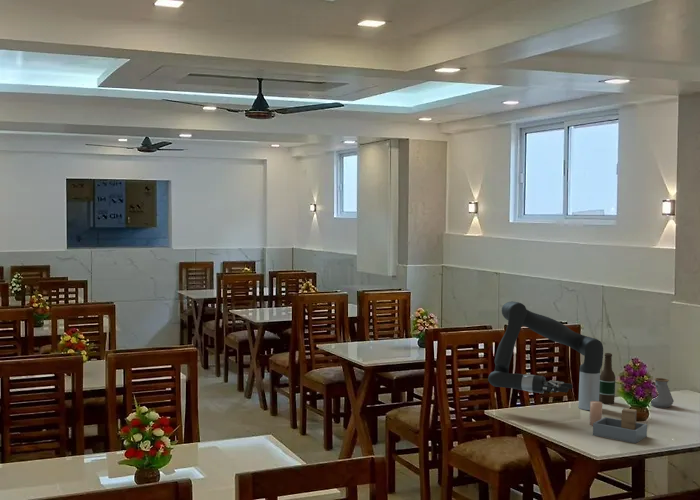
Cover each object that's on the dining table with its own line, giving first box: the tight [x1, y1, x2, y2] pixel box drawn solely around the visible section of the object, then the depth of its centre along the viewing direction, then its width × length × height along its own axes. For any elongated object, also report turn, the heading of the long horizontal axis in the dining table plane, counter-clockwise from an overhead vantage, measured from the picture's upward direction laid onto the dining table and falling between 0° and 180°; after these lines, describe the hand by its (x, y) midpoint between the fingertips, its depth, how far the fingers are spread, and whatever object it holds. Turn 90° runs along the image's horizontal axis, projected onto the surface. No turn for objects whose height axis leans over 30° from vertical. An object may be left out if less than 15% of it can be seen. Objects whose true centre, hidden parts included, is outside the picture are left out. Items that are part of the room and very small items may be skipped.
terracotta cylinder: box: [589, 401, 603, 427], centre depth 354 cm, size 5×5×10 cm
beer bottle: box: [599, 352, 616, 405], centre depth 397 cm, size 8×8×24 cm
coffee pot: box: [650, 377, 674, 409], centre depth 391 cm, size 21×12×15 cm, turn 116°
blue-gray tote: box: [592, 416, 648, 444], centre depth 338 cm, size 14×18×5 cm
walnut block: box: [620, 407, 638, 430], centre depth 335 cm, size 5×5×10 cm
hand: (570, 388), depth 359 cm, fingers open, 8 cm apart
